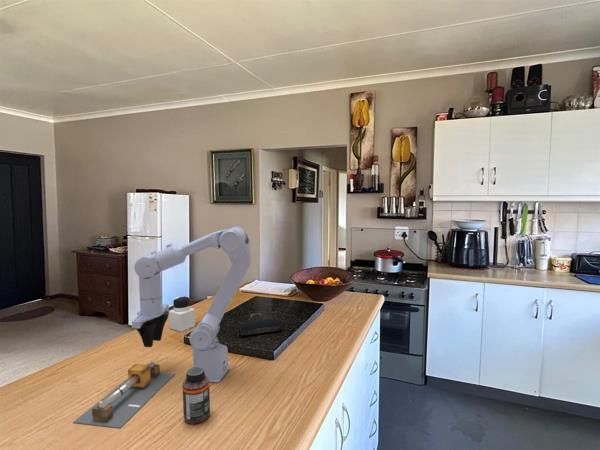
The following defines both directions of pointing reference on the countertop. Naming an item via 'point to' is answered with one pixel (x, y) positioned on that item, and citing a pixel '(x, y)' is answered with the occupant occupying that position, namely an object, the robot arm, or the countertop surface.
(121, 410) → the pipe rig
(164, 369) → the countertop surface
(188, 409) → the supplement bottle
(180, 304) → the medicine bottle
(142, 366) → the collar
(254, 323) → the pipe connector
